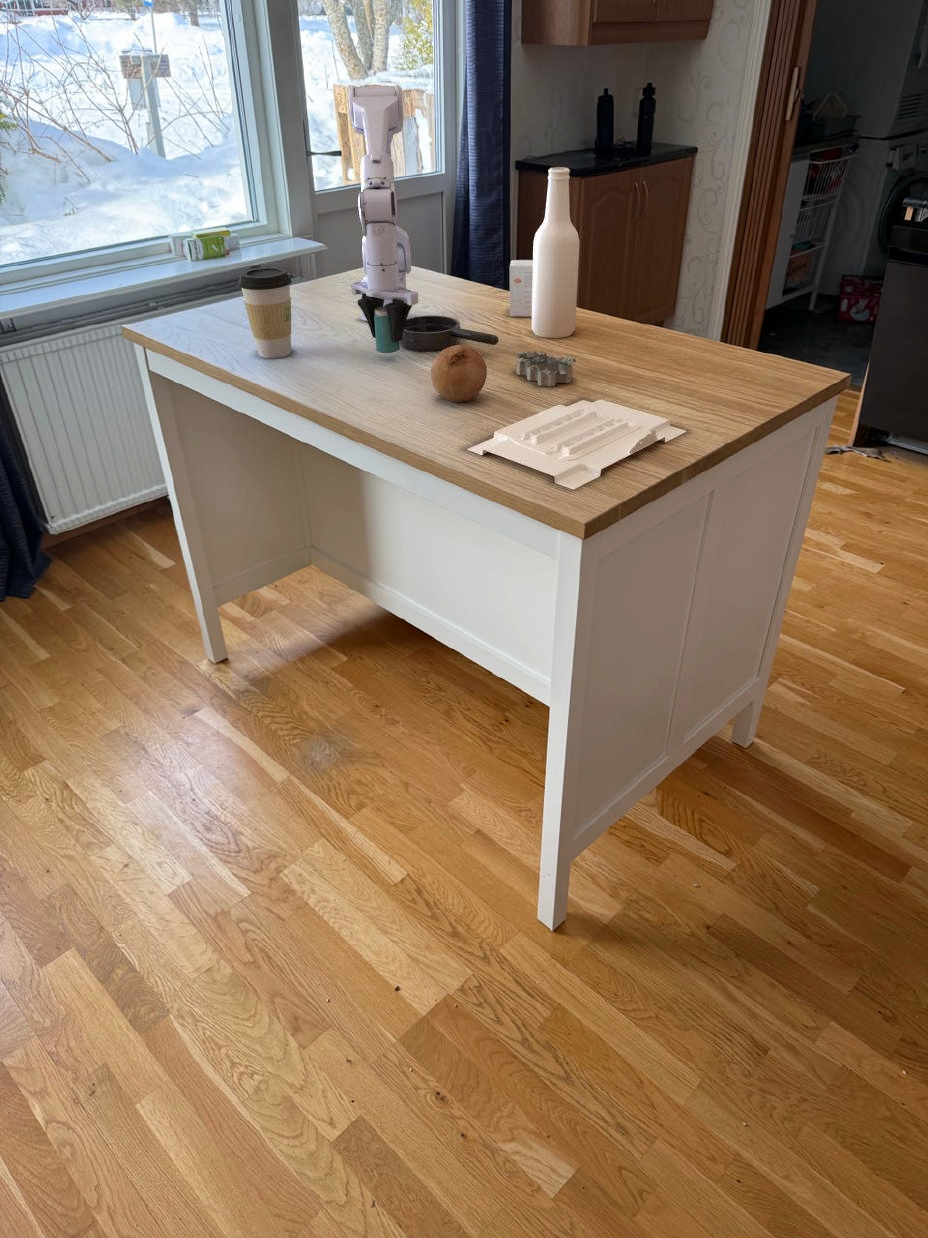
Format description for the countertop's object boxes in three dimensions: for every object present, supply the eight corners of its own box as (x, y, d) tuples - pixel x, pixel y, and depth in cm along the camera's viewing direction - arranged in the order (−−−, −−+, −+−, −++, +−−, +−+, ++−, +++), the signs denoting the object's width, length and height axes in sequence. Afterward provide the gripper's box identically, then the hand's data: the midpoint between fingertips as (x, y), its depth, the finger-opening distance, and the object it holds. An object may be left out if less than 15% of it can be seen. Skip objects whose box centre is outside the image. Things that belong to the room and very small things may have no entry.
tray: (465, 449, 133) (465, 425, 131) (581, 405, 150) (583, 383, 148) (573, 490, 121) (576, 464, 119) (686, 437, 138) (690, 414, 136)
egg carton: (577, 382, 157) (579, 359, 155) (540, 389, 154) (541, 366, 152) (546, 365, 165) (547, 342, 163) (510, 371, 162) (511, 349, 160)
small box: (547, 310, 196) (548, 259, 190) (546, 317, 191) (548, 265, 185) (510, 309, 197) (510, 259, 191) (508, 316, 192) (509, 265, 186)
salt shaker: (371, 350, 168) (368, 309, 164) (386, 344, 171) (384, 304, 167) (389, 354, 166) (386, 313, 162) (404, 348, 169) (402, 307, 165)
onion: (465, 423, 150) (465, 380, 141) (420, 399, 153) (417, 355, 144) (497, 388, 154) (499, 344, 145) (452, 365, 156) (451, 321, 148)
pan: (386, 344, 177) (385, 326, 175) (425, 329, 185) (424, 312, 183) (434, 355, 171) (433, 336, 169) (472, 339, 179) (472, 321, 177)
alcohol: (569, 340, 177) (577, 172, 161) (526, 336, 180) (529, 171, 163) (579, 327, 184) (587, 165, 167) (537, 324, 187) (542, 164, 170)
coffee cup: (310, 348, 176) (300, 268, 168) (281, 363, 169) (270, 280, 160) (268, 343, 180) (257, 264, 171) (238, 357, 172) (225, 276, 164)
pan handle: (448, 337, 173) (448, 327, 172) (454, 334, 175) (453, 325, 174) (494, 346, 168) (494, 337, 167) (500, 344, 169) (500, 334, 168)
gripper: (337, 261, 161) (344, 337, 169) (398, 271, 154) (403, 350, 161) (363, 254, 166) (369, 328, 173) (424, 263, 158) (427, 340, 166)
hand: (387, 338), depth 168 cm, fingers closed on salt shaker, 4 cm apart
